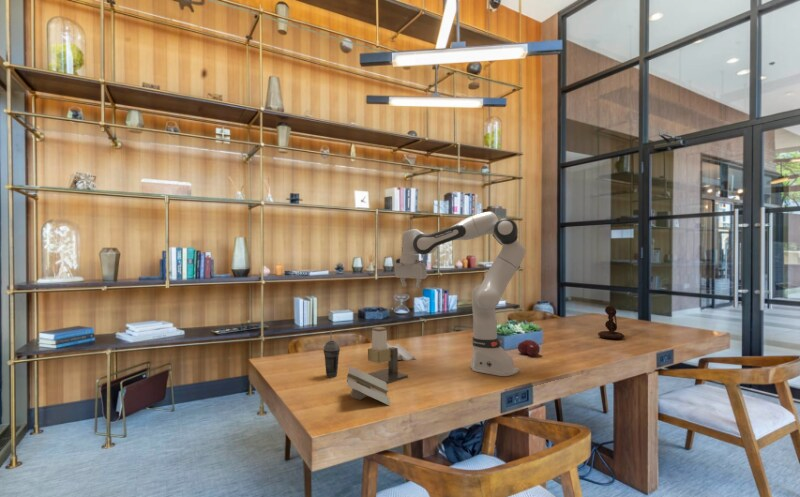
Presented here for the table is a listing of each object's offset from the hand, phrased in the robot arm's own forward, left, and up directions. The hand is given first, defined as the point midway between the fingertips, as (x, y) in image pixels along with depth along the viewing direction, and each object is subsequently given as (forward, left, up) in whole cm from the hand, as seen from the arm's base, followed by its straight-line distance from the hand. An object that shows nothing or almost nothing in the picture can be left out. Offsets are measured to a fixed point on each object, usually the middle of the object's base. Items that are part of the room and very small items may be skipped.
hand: (410, 287), depth 205 cm
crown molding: (+15, -4, -38) cm, 41 cm away
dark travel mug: (+5, +45, -37) cm, 59 cm away
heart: (-38, -52, -37) cm, 75 cm away
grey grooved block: (-28, +50, -38) cm, 68 cm away
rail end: (-13, +32, -28) cm, 45 cm away
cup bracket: (-13, +30, -37) cm, 49 cm away
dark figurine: (-53, -127, -37) cm, 143 cm away
